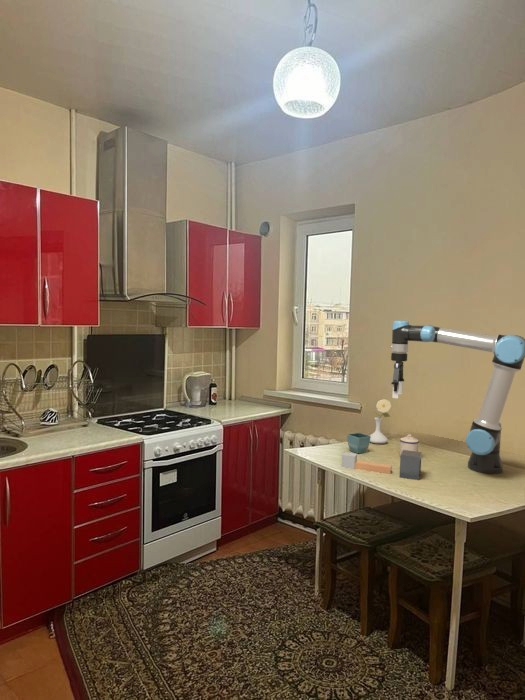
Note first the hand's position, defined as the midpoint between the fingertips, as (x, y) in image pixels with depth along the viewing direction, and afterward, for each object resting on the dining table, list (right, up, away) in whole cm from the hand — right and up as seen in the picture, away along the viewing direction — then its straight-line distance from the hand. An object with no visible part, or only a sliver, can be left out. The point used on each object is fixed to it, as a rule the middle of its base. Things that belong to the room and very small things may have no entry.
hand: (397, 396), depth 245 cm
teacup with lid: (+8, -32, +9) cm, 34 cm away
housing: (0, -33, -22) cm, 40 cm away
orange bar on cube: (-18, -32, -15) cm, 40 cm away
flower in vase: (-1, -30, +36) cm, 47 cm away
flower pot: (-16, -31, +15) cm, 38 cm away
